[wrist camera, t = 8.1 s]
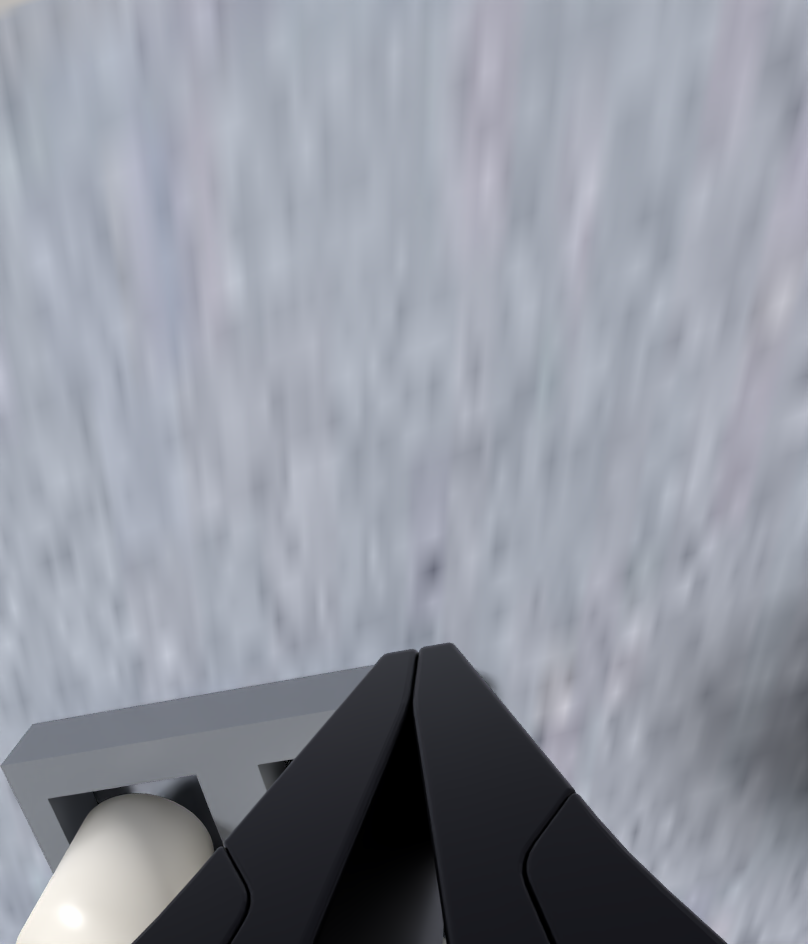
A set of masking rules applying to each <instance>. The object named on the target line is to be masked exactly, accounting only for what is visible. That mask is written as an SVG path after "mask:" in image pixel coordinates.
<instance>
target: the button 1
mask: <svg viewBox="0 0 808 944" xmlns="http://www.w3.org/2000/svg"><path fill="white" fill-rule="evenodd" d="M213 853H214V846H213V842H212V839H211V836H210V834H209V832H208V830H207V829H206V827H205V826H204V824H203V823H202V822H201V821H200V820H199V819H198V818H197V817H196V816H195V815H194V814H193V813H192V812H191V811H189V810H188V809H186V808H185V807H183V806H182V805H180V804H178V803H176V802H174V801H172V800H169V799H166V798H163V797H160V796H156V795H151V794H142V793H132V794H123V795H119V796H115V797H112V798H109V799H107V800H105V801H103V802H101V803H100V804H98V805H97V806H95V807H94V808H93V809H92V810H91V811H90V812H89V814H88V815H87V816H86V818H85V820H84V821H83V823H82V825H81V827H80V828H79V830H78V832H77V834H76V835H75V837H74V839H73V841H72V842H71V844H70V846H69V848H68V849H67V851H66V853H65V855H64V856H63V858H62V860H61V862H60V863H59V865H58V867H57V869H56V871H55V872H54V874H53V876H52V878H51V879H50V881H49V883H48V885H47V886H46V888H45V890H44V892H43V893H42V895H41V897H40V899H39V900H38V902H37V904H36V906H35V907H34V909H33V911H32V913H31V914H30V916H29V918H28V920H27V922H26V923H25V925H24V927H23V929H22V930H21V932H20V934H19V936H18V939H17V942H16V944H131V943H132V942H133V941H134V940H135V939H136V938H137V937H138V936H139V935H140V934H141V933H142V932H143V931H144V930H145V929H146V928H147V927H148V926H149V925H150V924H151V923H152V922H153V921H154V920H155V919H156V918H157V917H158V916H159V914H160V913H161V912H162V911H163V910H164V909H165V908H166V907H167V905H168V904H169V903H170V902H171V901H172V900H173V899H174V898H175V897H176V895H177V894H178V893H179V892H180V891H181V890H182V889H183V888H184V886H185V885H186V884H187V883H188V882H189V881H190V880H191V879H192V878H193V876H194V875H195V874H196V873H197V872H198V871H199V870H200V868H201V867H202V866H203V865H204V864H205V862H206V861H207V860H208V859H209V858H210V857H211V855H212V854H213Z"/></svg>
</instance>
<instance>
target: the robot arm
mask: <svg viewBox="0 0 808 944" xmlns="http://www.w3.org/2000/svg"><path fill="white" fill-rule="evenodd" d="M223 845H224V847H219V848H218V849H217V850H216V851H215V852H214V853H213V854H212V855H211V857H210V858H209V859H208V860H207V861H206V862H205V864H204V865H203V866H202V867H201V868H200V870H199V871H198V872H197V873H196V874H195V875H194V876H193V878H192V879H191V880H190V881H189V882H188V883H187V884H186V885H185V886H184V888H183V889H182V890H181V891H180V892H179V893H178V894H177V895H176V897H175V898H174V899H173V900H172V901H171V902H170V903H169V904H168V905H167V907H166V908H165V909H164V910H163V911H162V912H161V913H160V914H159V916H158V917H157V918H156V919H155V920H154V921H153V922H152V923H151V924H150V925H149V926H148V927H147V928H146V929H145V930H144V931H143V932H142V933H141V934H140V935H139V936H138V937H137V938H136V939H135V940H134V941H133V942H132V943H131V944H443V924H444V930H445V937H446V944H727V943H726V942H725V941H724V940H723V939H722V938H721V937H720V936H719V935H718V934H716V933H715V932H714V931H713V930H712V929H711V928H710V927H709V926H708V925H706V924H705V923H704V922H703V921H702V920H701V919H700V918H699V917H698V916H697V915H695V914H694V913H693V912H692V911H691V910H690V909H689V908H688V907H687V906H686V905H684V904H683V903H682V902H681V901H680V900H679V899H678V898H677V897H676V896H674V895H673V894H672V893H671V892H670V891H669V890H668V889H667V888H666V887H665V886H664V885H663V884H662V883H661V882H660V881H659V880H658V879H656V878H655V877H654V876H653V875H652V874H651V873H650V872H649V871H648V870H647V869H646V868H645V867H644V866H643V865H642V864H641V863H640V862H639V861H638V860H637V859H636V858H635V857H634V856H633V855H632V854H630V853H629V851H628V850H627V849H626V848H625V847H624V846H623V845H622V844H621V843H620V841H619V840H618V839H617V838H616V837H615V836H614V835H613V834H612V833H611V831H610V830H609V829H608V828H607V827H606V826H605V825H604V824H603V823H602V821H601V820H600V819H599V818H598V817H597V816H596V815H595V813H594V812H593V811H592V810H591V808H590V807H589V806H588V805H587V804H586V802H585V801H584V800H583V799H582V798H581V796H580V795H578V794H576V792H575V790H574V789H573V787H572V786H571V785H570V784H569V782H568V781H567V780H566V779H565V778H564V776H563V775H562V774H561V773H560V772H559V770H558V769H557V768H556V767H555V766H554V764H553V763H552V762H551V761H550V760H549V758H548V757H547V756H546V755H545V753H544V752H543V751H542V750H541V749H540V747H539V746H538V745H537V744H536V743H535V741H534V740H533V739H532V738H531V737H530V735H529V734H528V733H527V732H526V731H525V729H524V728H523V727H522V726H521V724H520V723H519V722H518V721H517V720H516V718H515V717H514V716H513V715H512V714H511V712H510V711H509V710H508V709H507V708H506V706H505V705H504V704H503V703H502V701H501V700H500V699H499V698H498V697H497V695H496V694H495V693H494V692H493V691H492V689H491V688H490V687H489V686H488V685H487V683H486V682H485V681H484V680H483V679H482V677H481V676H480V675H479V674H478V672H477V671H476V670H475V669H474V668H473V666H472V665H471V664H470V663H469V662H468V660H467V659H466V658H465V657H464V656H463V654H462V653H461V652H460V651H459V650H458V648H457V647H456V646H455V645H454V644H452V643H443V644H438V645H432V646H426V647H423V648H421V649H420V651H419V653H418V652H417V650H414V649H409V650H404V651H398V652H392V653H387V654H385V655H383V656H382V657H381V658H380V659H379V660H378V662H377V663H376V664H375V665H374V666H373V667H372V669H371V670H370V671H369V672H368V673H367V674H366V676H365V677H364V678H363V679H362V680H361V681H360V683H359V684H358V685H357V686H356V687H355V688H354V690H353V691H352V692H351V693H350V694H349V695H348V697H347V698H346V699H345V700H344V701H343V703H342V704H341V705H340V706H339V707H338V708H337V710H336V711H335V712H334V713H333V714H332V715H331V717H330V718H329V719H328V720H327V721H326V722H325V724H324V725H323V726H322V727H321V728H320V729H319V731H318V732H317V733H316V734H315V735H314V736H313V738H312V739H311V740H310V741H309V742H308V743H307V745H306V746H305V747H304V748H303V749H302V751H301V752H300V753H299V754H298V755H297V756H296V758H295V759H294V760H293V761H292V762H291V763H290V765H289V766H288V767H287V768H286V769H285V770H284V772H283V773H282V774H281V775H280V776H279V777H278V779H277V780H276V781H275V782H274V783H273V784H272V786H271V787H270V788H269V789H268V790H267V791H266V793H265V794H264V795H263V796H262V797H261V799H260V800H259V801H258V802H257V803H256V804H255V806H254V807H253V808H252V809H251V810H250V811H249V813H248V814H247V815H246V816H245V817H244V818H243V820H242V821H241V822H240V823H239V824H238V825H237V827H236V828H235V829H234V830H233V831H232V832H231V834H230V835H229V836H228V837H227V838H226V839H225V841H224V843H223Z"/></svg>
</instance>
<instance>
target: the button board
mask: <svg viewBox="0 0 808 944" xmlns="http://www.w3.org/2000/svg"><path fill="white" fill-rule="evenodd" d="M373 666H374V665H372V666H367V667H361V668H355V669H349V670H344V671H338V672H332V673H326V674H321V675H315V676H309V677H303V678H297V679H292V680H286V681H280V682H274V683H269V684H263V685H257V686H251V687H246V688H240V689H234V690H228V691H223V692H217V693H211V694H205V695H199V696H194V697H188V698H182V699H176V700H171V701H165V702H159V703H153V704H148V705H142V706H136V707H130V708H124V709H119V710H113V711H107V712H101V713H96V714H90V715H84V716H78V717H73V718H67V719H61V720H55V721H49V722H44V723H38V724H32V726H31V727H30V728H29V730H28V731H27V732H26V734H25V735H24V736H23V737H22V739H21V740H20V741H19V743H18V744H17V745H16V746H15V748H14V749H13V750H12V752H11V753H10V754H9V755H8V757H7V758H6V759H5V761H4V762H3V763H2V765H1V768H2V770H3V772H4V774H5V776H6V778H7V781H8V783H9V785H10V787H11V789H12V791H13V793H14V795H15V797H16V799H17V801H18V803H19V805H20V807H21V809H22V811H23V813H24V815H25V817H26V819H27V821H28V823H29V825H30V827H31V829H32V832H33V834H34V836H35V838H36V840H37V842H38V844H39V846H40V848H41V850H42V852H43V854H44V856H45V858H46V860H47V862H48V864H49V866H50V868H51V870H52V872H53V874H54V872H55V871H56V869H57V867H58V865H59V863H60V862H61V860H62V858H63V856H64V855H65V853H66V851H67V849H68V848H69V846H70V844H71V842H72V841H73V839H74V837H75V835H76V834H77V832H78V830H79V828H80V827H81V825H82V823H83V821H84V820H85V818H86V816H87V815H88V814H89V812H90V811H91V810H92V809H93V808H94V807H95V806H97V805H98V804H97V802H96V799H95V797H94V795H93V793H92V791H98V790H105V789H111V788H117V787H123V786H129V785H136V784H142V783H148V782H154V781H160V780H166V779H173V778H179V777H185V776H191V775H196V776H197V778H198V781H199V784H200V786H201V789H202V791H203V794H204V796H205V799H206V802H207V804H208V807H209V809H210V812H211V814H212V817H213V820H214V822H215V825H216V827H217V830H218V833H219V835H220V838H221V840H222V843H224V841H225V839H226V838H227V837H228V836H229V835H230V834H231V832H232V831H233V830H234V829H235V828H236V827H237V825H238V824H239V823H240V822H241V821H242V820H243V818H244V817H245V816H246V815H247V814H248V813H249V811H250V810H251V809H252V808H253V807H254V806H255V804H256V803H257V802H258V801H259V800H260V799H261V797H262V796H263V795H264V794H265V793H266V791H267V790H268V789H269V788H270V787H271V786H272V784H273V783H274V782H275V781H276V780H277V779H278V777H279V776H280V775H281V774H282V773H283V772H284V770H285V769H286V767H285V764H284V760H290V759H295V758H296V756H297V755H298V754H299V753H300V752H301V751H302V749H303V748H304V747H305V746H306V745H307V743H308V742H309V741H310V740H311V739H312V738H313V736H314V735H315V734H316V733H317V732H318V731H319V729H320V728H321V727H322V726H323V725H324V724H325V722H326V721H327V720H328V719H329V718H330V717H331V715H332V714H333V713H334V712H335V711H336V710H337V708H338V707H339V706H340V705H341V704H342V703H343V701H344V700H345V699H346V698H347V697H348V695H349V694H350V693H351V692H352V691H353V690H354V688H355V687H356V686H357V685H358V684H359V683H360V681H361V680H362V679H363V678H364V677H365V676H366V674H367V673H368V672H369V671H370V670H371V669H372V667H373Z"/></svg>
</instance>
